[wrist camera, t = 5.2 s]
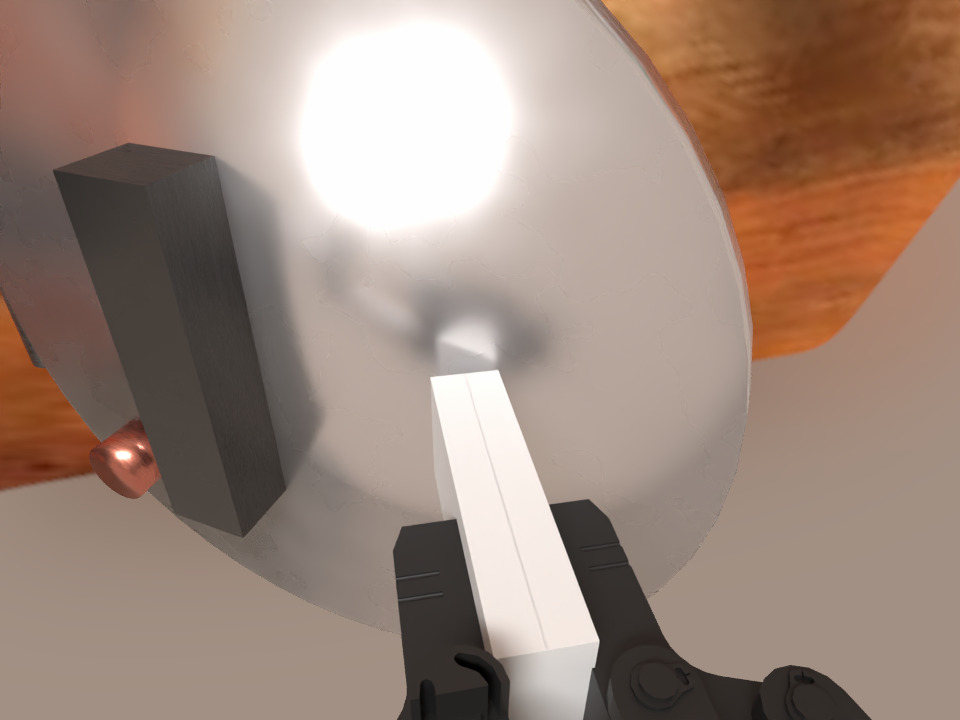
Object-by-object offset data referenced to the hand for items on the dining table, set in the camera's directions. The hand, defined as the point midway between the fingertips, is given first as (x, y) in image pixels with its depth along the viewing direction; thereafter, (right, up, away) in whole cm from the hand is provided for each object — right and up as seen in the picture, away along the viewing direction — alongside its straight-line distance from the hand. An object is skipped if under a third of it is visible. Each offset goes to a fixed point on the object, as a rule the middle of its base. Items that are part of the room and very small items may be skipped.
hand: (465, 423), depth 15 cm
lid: (-4, +2, +3) cm, 5 cm away
